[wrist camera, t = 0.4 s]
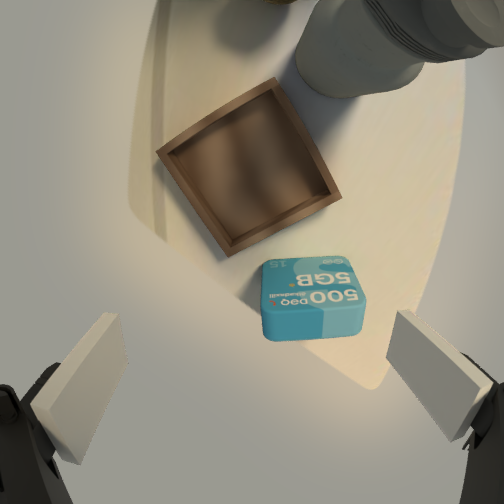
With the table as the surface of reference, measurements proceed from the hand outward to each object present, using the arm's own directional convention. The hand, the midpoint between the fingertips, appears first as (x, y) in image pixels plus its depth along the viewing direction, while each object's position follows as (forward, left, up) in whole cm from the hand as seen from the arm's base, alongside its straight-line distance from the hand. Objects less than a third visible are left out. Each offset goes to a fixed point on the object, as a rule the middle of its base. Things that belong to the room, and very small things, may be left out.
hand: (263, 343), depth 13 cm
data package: (+1, +13, -27) cm, 30 cm away
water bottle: (-16, -10, -27) cm, 33 cm away
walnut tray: (0, -3, -27) cm, 27 cm away
